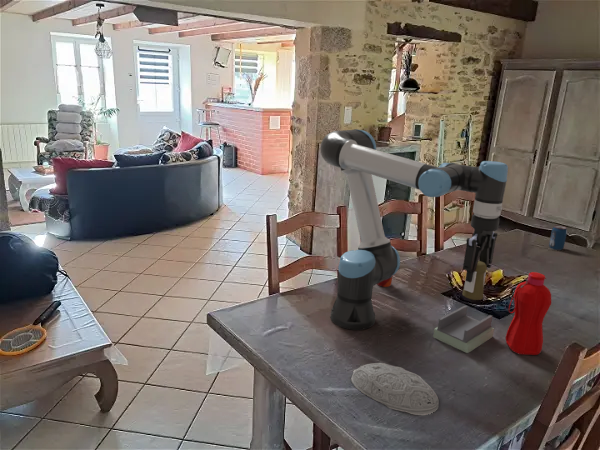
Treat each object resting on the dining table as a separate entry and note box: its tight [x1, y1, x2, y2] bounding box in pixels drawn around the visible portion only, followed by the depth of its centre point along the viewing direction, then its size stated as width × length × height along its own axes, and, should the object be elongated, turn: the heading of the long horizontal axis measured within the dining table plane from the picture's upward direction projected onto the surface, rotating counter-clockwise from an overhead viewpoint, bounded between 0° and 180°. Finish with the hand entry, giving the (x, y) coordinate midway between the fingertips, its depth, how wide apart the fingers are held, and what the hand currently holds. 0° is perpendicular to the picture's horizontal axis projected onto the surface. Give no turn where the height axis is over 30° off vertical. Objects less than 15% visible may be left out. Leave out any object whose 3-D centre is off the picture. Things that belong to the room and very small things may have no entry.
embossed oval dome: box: [350, 362, 440, 416], centre depth 118 cm, size 16×25×7 cm, turn 57°
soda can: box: [548, 224, 568, 251], centre depth 238 cm, size 7×7×12 cm
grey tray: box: [432, 304, 495, 354], centre depth 145 cm, size 16×12×7 cm
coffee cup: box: [376, 248, 397, 288], centre depth 183 cm, size 8×8×15 cm
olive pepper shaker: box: [462, 260, 488, 301], centre depth 137 cm, size 6×6×11 cm
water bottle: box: [505, 271, 552, 356], centre depth 137 cm, size 9×11×25 cm
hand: (473, 288), depth 138 cm, fingers closed on olive pepper shaker, 5 cm apart
